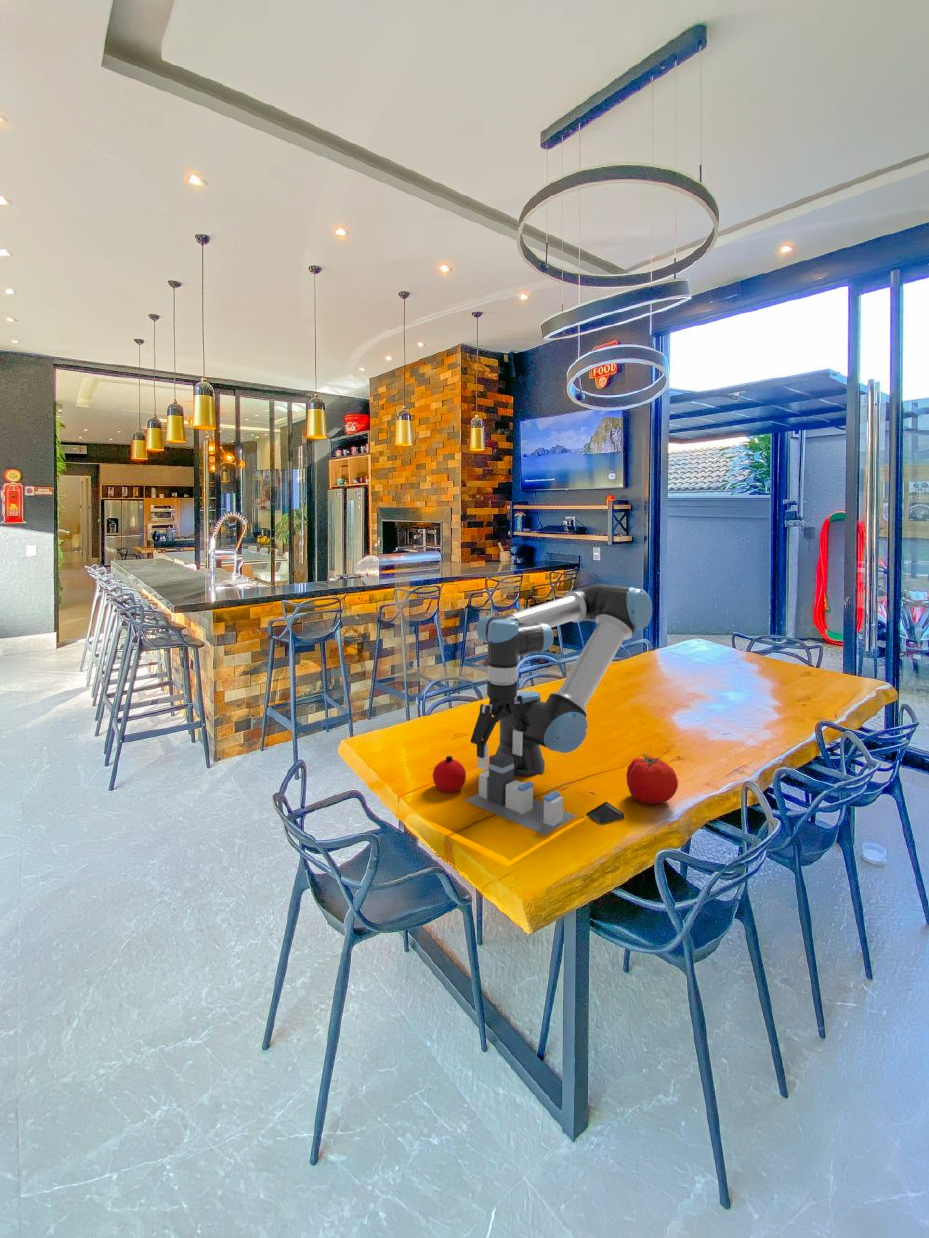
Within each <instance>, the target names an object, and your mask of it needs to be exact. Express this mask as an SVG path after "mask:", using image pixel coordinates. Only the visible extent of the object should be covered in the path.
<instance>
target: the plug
mask: <svg viewBox="0 0 929 1238" xmlns="http://www.w3.org/2000/svg"><path fill="white" fill-rule="evenodd" d="M488 770H489V801H491V802H493V803H496V804H498V805H501V806H503V805H505V804H506V784H508V783H511V782H513V781H515V780H514V777H515V776H514V757H513V756H510V755H508V754H505V753H502V752H500V753H497V754H496V753H495V754H492V755H490V756H488Z"/></svg>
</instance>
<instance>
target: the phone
mask: <svg viewBox="0 0 929 1238" xmlns="http://www.w3.org/2000/svg"><path fill="white" fill-rule="evenodd" d="M588 793H589V794H592V795H595V796H597V794H596V793H595V792H593V791H588ZM586 815H587V816H588V817H590V818H591V819H593V820H594V821H595V822H596V823H599V824H608V823H611V822H616V821H621V820H623V819H625V813H624V812H622V810H619V809H618V808H617V807H615V806H613V805H612V804H611V803H610V802H608V801H605V802H602V803H601V804H600V805H598V806H597V807H595V808H593V809H592V810H590V811H588V812H587V813H586Z"/></svg>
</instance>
